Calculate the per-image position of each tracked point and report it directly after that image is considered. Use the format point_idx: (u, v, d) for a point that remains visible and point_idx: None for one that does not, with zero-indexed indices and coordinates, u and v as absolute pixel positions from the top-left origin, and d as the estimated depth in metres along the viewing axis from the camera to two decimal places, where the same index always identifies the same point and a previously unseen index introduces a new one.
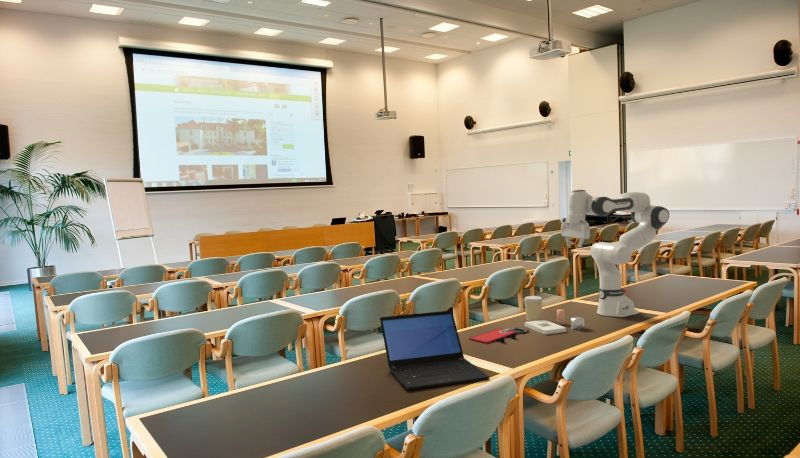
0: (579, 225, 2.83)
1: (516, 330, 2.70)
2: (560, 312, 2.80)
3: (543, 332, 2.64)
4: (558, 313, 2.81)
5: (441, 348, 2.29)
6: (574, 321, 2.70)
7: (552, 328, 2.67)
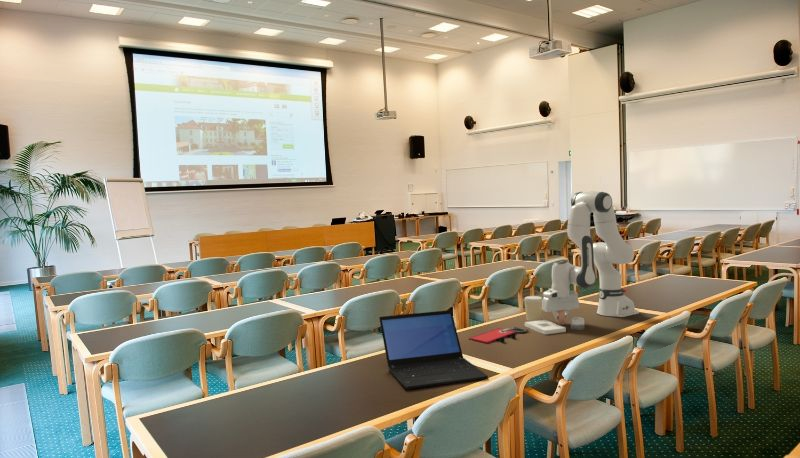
0: (571, 296, 2.82)
1: (515, 330, 2.71)
2: (560, 312, 2.80)
3: (543, 332, 2.64)
4: (558, 313, 2.81)
5: (440, 348, 2.30)
6: (574, 321, 2.70)
7: (552, 328, 2.67)
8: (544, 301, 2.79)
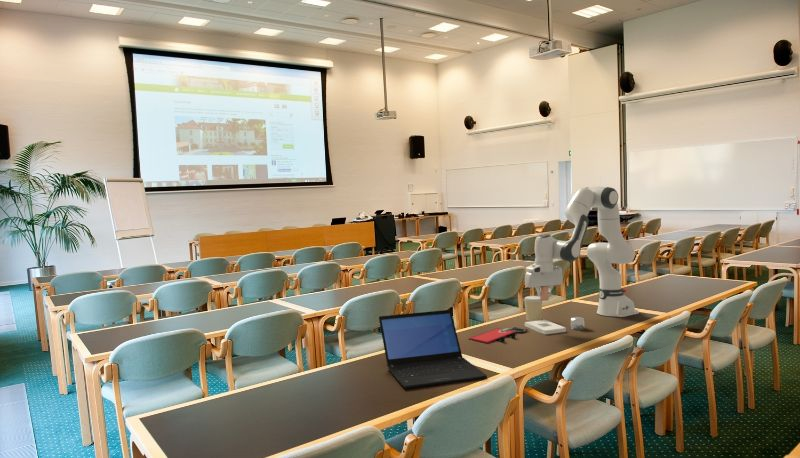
0: (555, 271, 2.72)
1: (515, 330, 2.71)
2: (543, 288, 2.70)
3: (543, 332, 2.64)
4: (541, 289, 2.71)
5: (439, 347, 2.31)
6: (574, 321, 2.70)
7: (552, 328, 2.67)
8: (527, 276, 2.69)
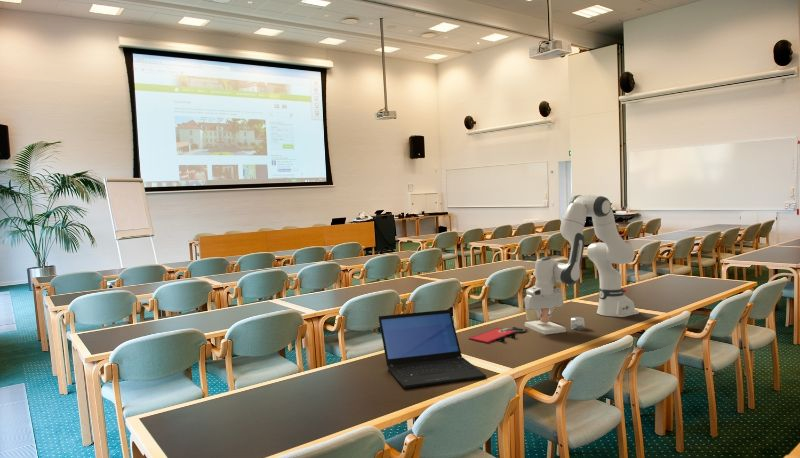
0: (555, 294, 2.72)
1: (514, 329, 2.72)
2: (544, 310, 2.71)
3: (543, 332, 2.64)
4: (542, 311, 2.72)
5: (439, 347, 2.31)
6: (574, 321, 2.70)
7: (552, 328, 2.67)
8: (527, 299, 2.70)
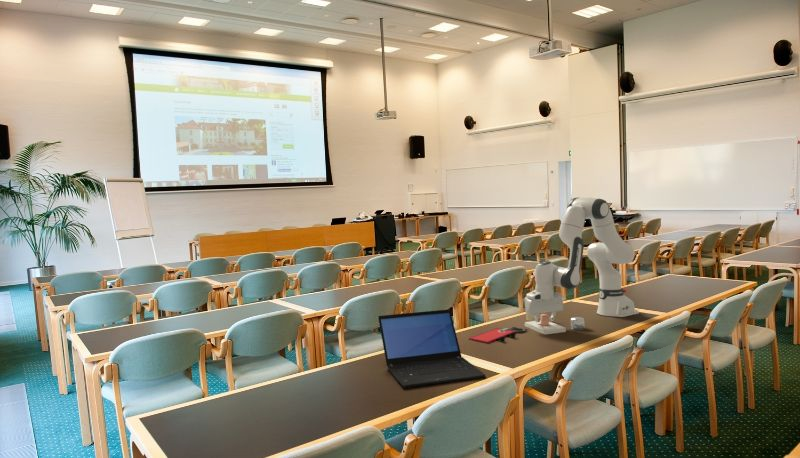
0: (555, 298, 2.73)
1: (514, 329, 2.72)
2: (544, 317, 2.72)
3: (543, 332, 2.64)
4: (542, 318, 2.72)
5: (438, 347, 2.31)
6: (574, 321, 2.70)
7: (552, 328, 2.67)
8: (527, 303, 2.70)
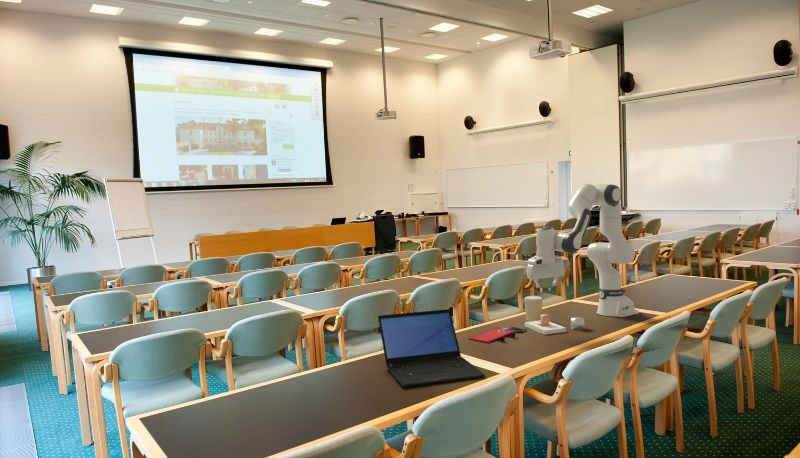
0: (557, 263, 2.73)
1: (514, 329, 2.72)
2: (544, 317, 2.72)
3: (543, 332, 2.64)
4: (542, 318, 2.72)
5: (438, 346, 2.32)
6: (574, 321, 2.70)
7: (552, 328, 2.67)
8: (528, 268, 2.70)
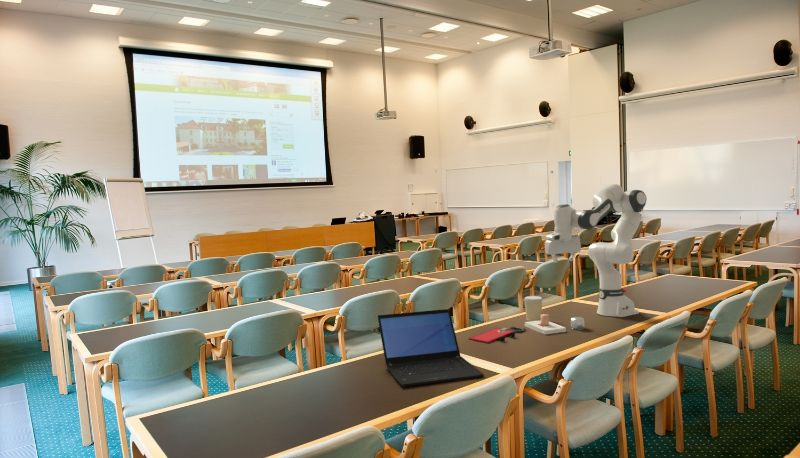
0: (573, 239, 2.87)
1: (513, 329, 2.72)
2: (544, 317, 2.72)
3: (543, 332, 2.64)
4: (542, 318, 2.72)
5: (438, 346, 2.32)
6: (574, 321, 2.70)
7: (552, 328, 2.67)
8: (547, 244, 2.84)
